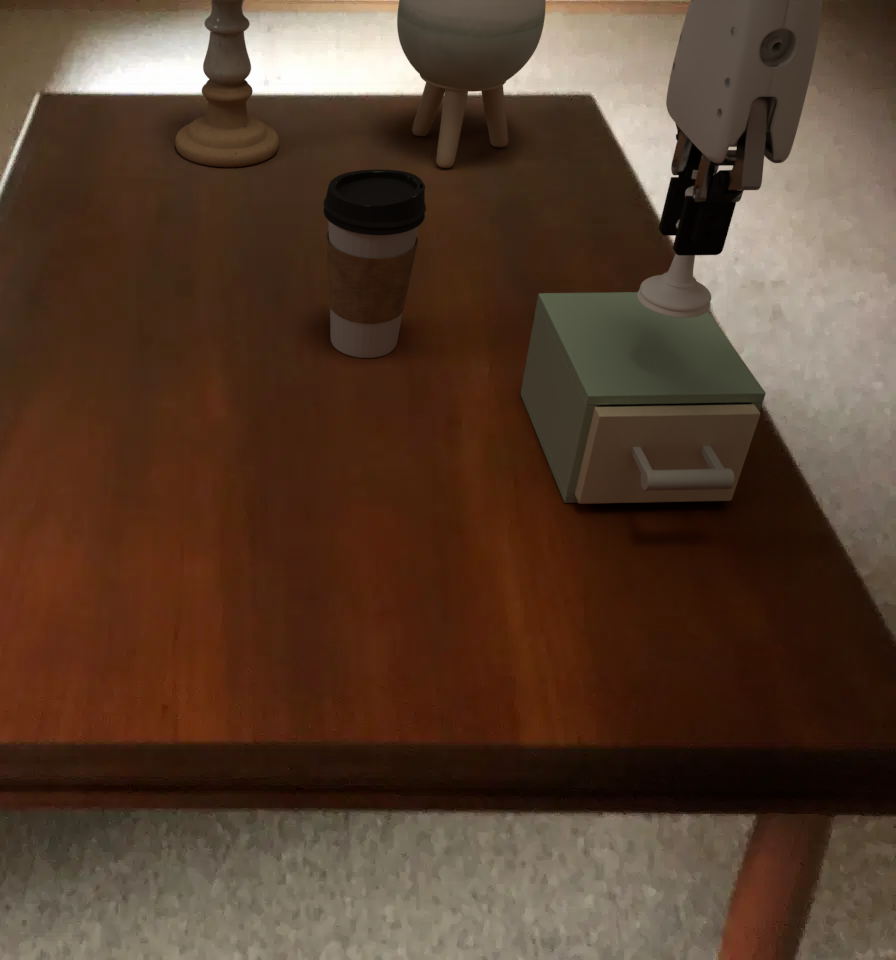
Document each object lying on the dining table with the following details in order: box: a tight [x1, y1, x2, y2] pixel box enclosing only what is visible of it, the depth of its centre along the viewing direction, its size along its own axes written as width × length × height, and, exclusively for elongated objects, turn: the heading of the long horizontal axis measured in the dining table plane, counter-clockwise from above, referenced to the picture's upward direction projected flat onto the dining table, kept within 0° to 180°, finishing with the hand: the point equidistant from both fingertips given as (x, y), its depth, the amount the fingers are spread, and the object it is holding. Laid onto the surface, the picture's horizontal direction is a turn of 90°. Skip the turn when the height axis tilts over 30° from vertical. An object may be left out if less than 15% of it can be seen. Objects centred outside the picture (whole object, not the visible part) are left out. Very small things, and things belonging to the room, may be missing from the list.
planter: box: [396, 0, 547, 169], centre depth 133 cm, size 16×16×22 cm
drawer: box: [575, 403, 761, 505], centre depth 88 cm, size 18×11×8 cm, turn 3°
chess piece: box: [637, 170, 716, 318], centre depth 79 cm, size 5×5×10 cm
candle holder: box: [174, 0, 280, 168], centre depth 134 cm, size 12×12×20 cm
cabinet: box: [520, 291, 767, 504], centre depth 91 cm, size 15×13×10 cm
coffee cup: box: [323, 169, 427, 359], centre depth 101 cm, size 8×8×15 cm
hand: (689, 241), depth 79 cm, fingers closed on chess piece
